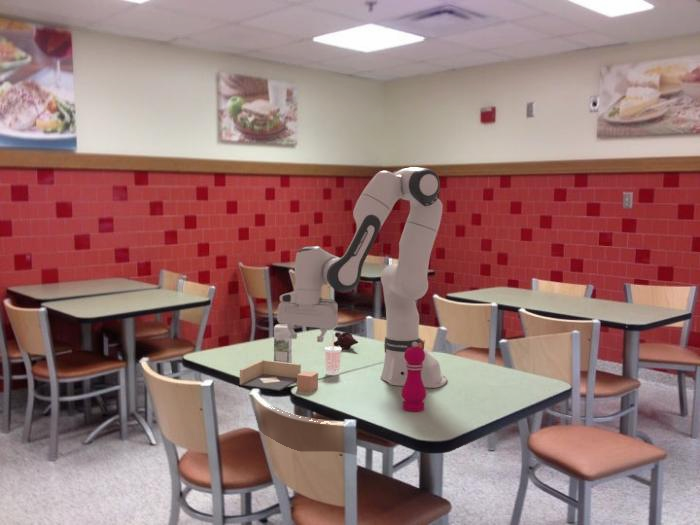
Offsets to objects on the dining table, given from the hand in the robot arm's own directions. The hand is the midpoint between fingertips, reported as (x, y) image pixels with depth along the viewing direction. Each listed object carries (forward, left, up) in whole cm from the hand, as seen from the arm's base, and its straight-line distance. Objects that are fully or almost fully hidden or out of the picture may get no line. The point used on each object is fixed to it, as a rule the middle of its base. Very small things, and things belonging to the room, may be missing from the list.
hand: (306, 340), depth 204 cm
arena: (+14, -1, -16) cm, 21 cm away
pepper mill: (-37, +5, -16) cm, 41 cm away
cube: (0, 0, -16) cm, 16 cm away
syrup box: (+22, -24, -16) cm, 36 cm away
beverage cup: (0, -20, -16) cm, 26 cm away
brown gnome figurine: (+10, -57, -16) cm, 60 cm away
